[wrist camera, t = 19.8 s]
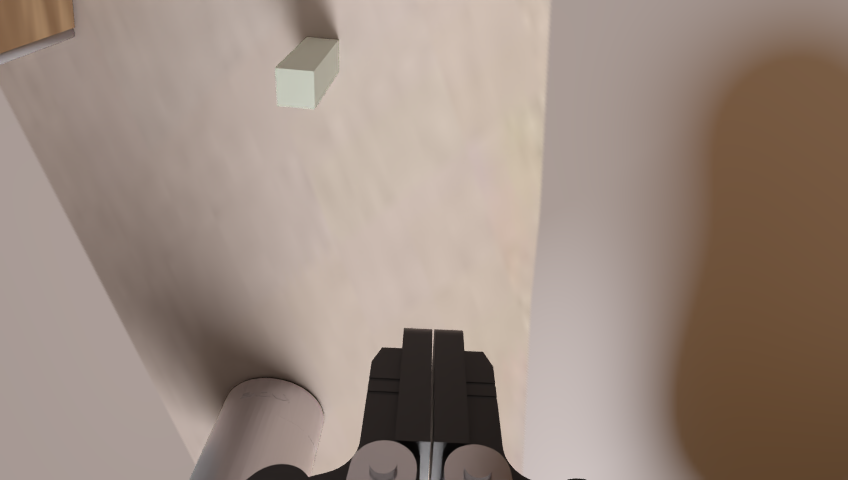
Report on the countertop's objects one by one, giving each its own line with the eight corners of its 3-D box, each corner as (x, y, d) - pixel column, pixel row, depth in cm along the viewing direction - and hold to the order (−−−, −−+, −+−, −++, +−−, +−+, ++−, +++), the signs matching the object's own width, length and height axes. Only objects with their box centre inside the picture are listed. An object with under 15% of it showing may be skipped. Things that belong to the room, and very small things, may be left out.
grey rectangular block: (338, 71, 37) (314, 109, 30) (69, 48, 37) (-13, 81, 30) (338, 39, 36) (313, 71, 29) (61, 15, 36) (-25, 41, 29)
